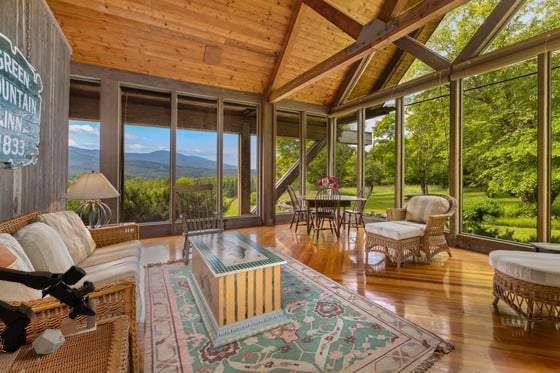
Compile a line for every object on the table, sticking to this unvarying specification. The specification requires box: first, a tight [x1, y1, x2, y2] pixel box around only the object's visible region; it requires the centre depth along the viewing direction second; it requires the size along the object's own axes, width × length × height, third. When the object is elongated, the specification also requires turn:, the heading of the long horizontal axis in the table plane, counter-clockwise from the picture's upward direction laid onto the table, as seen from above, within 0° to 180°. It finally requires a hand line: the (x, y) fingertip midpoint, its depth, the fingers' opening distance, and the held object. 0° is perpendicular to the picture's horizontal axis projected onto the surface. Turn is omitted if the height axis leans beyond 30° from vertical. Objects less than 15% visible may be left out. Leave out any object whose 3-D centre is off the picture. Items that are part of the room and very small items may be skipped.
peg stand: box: [63, 298, 98, 338], centre depth 108 cm, size 13×7×13 cm, turn 126°
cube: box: [60, 315, 79, 336], centre depth 106 cm, size 5×5×5 cm
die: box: [31, 328, 66, 355], centre depth 95 cm, size 8×9×10 cm
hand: (95, 312), depth 111 cm, fingers closed on peg stand, 3 cm apart
